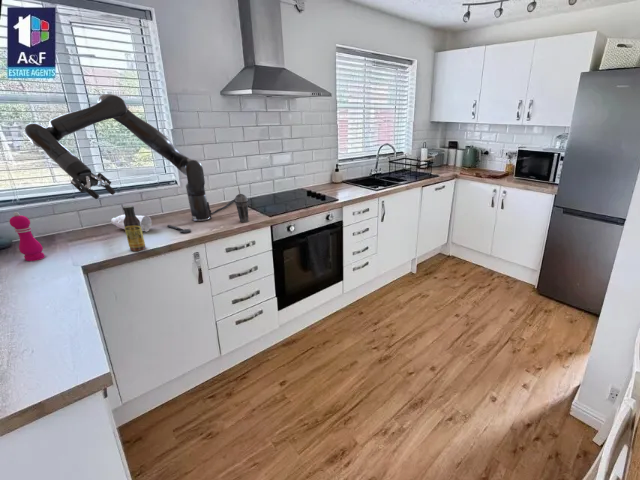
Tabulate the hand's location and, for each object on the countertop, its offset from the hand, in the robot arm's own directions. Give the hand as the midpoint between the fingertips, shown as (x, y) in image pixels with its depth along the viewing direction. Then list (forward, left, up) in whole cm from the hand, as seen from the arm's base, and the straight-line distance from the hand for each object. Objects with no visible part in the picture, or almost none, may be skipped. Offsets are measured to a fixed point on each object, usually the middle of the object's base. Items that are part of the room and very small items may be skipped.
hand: (106, 195), depth 159 cm
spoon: (-30, -3, -24) cm, 39 cm away
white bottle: (-16, -21, -24) cm, 36 cm away
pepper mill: (+27, -15, -24) cm, 39 cm away
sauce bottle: (-3, +8, -24) cm, 26 cm away
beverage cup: (-61, +11, -24) cm, 67 cm away
